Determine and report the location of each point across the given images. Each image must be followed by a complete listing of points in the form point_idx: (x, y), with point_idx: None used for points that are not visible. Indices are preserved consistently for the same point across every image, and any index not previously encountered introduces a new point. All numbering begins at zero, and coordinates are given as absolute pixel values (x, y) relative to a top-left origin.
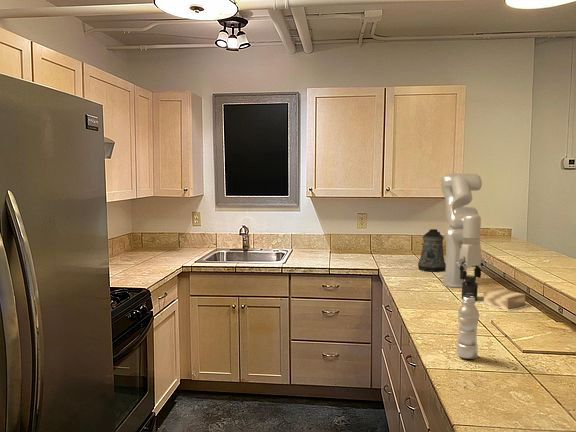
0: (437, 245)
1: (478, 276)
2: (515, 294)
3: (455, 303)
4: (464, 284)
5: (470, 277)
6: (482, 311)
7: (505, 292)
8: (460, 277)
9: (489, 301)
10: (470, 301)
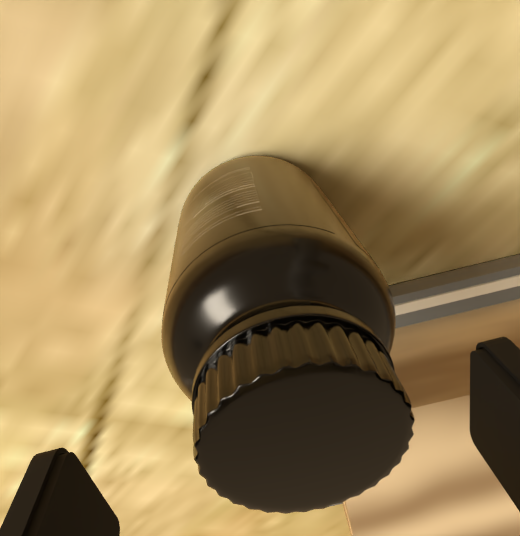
0: None
1: (480, 437)
2: (509, 516)
3: (77, 252)
4: (165, 359)
5: (244, 501)
6: (181, 449)
7: None
8: (32, 478)
9: None
10: None
